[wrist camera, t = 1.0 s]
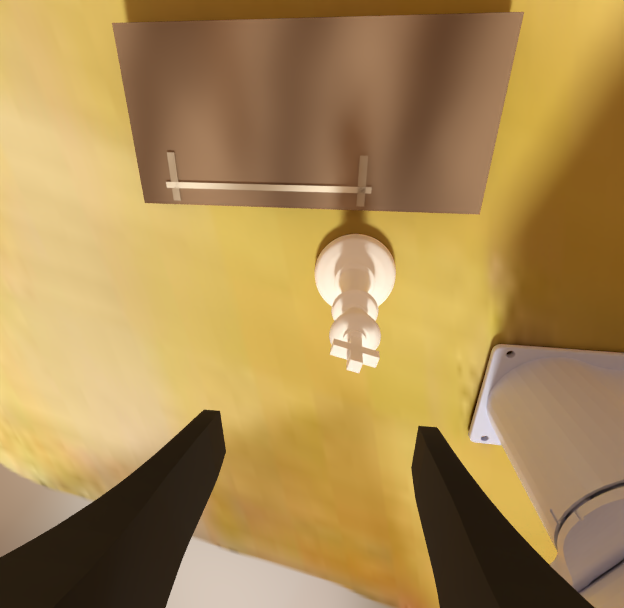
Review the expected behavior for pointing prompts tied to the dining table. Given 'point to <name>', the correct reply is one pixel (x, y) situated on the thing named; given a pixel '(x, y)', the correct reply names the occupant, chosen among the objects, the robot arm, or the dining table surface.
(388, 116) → the walnut board
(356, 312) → the chess piece
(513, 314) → the dining table surface
